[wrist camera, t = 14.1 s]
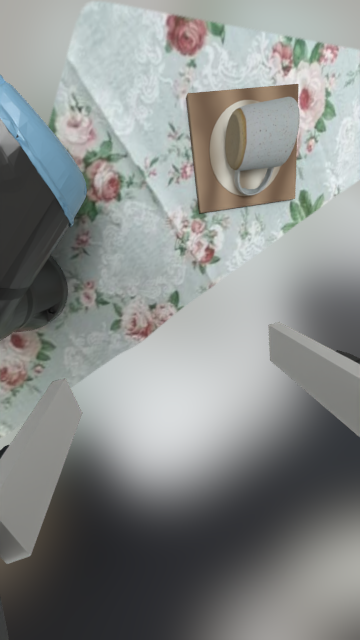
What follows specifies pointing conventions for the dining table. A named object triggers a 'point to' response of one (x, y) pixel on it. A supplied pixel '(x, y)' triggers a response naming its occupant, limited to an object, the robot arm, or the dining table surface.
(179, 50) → the dining table surface
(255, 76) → the dining table surface
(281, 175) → the board
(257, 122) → the ceramic mug
